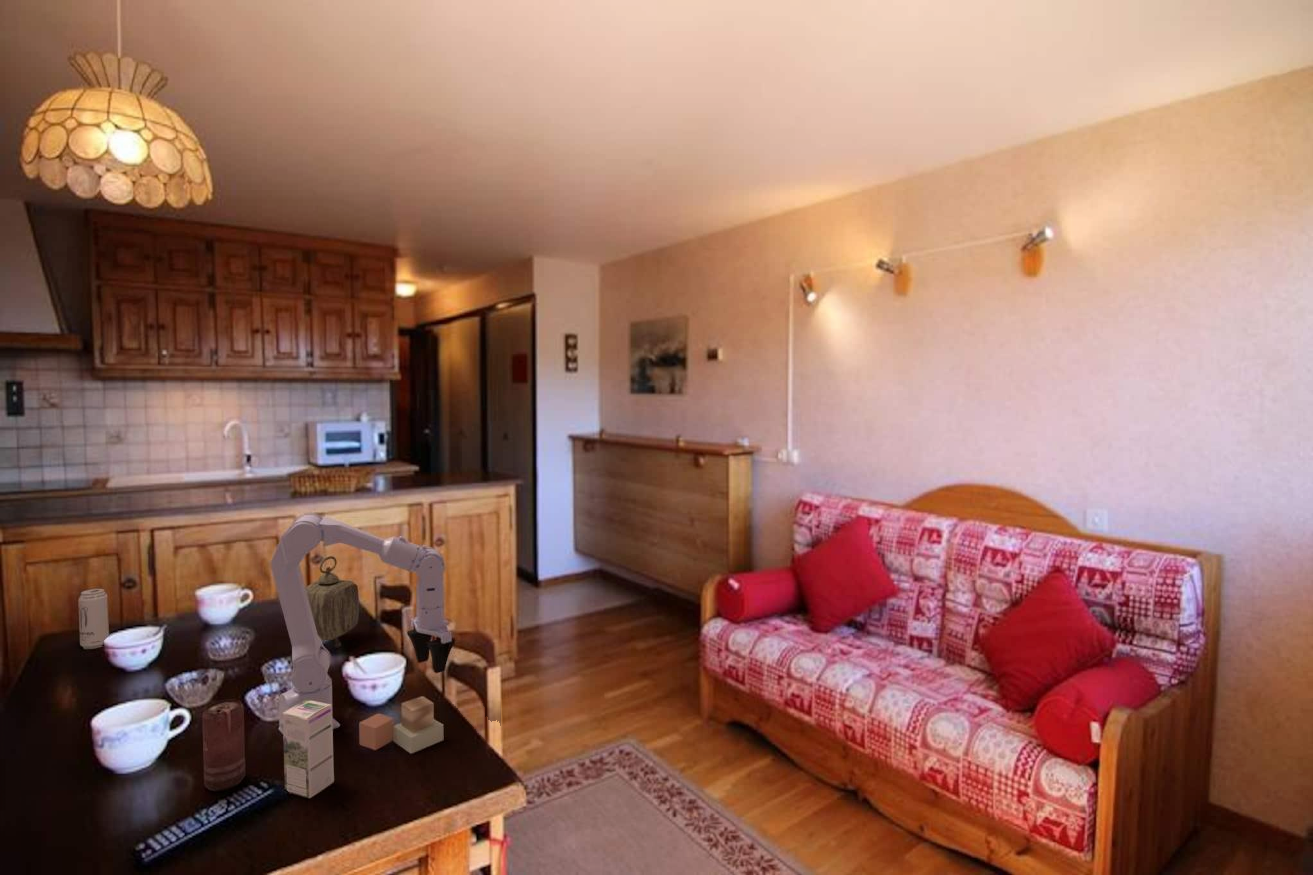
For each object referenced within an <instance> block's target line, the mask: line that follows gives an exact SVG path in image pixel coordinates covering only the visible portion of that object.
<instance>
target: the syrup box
mask: <svg viewBox="0 0 1313 875" xmlns="http://www.w3.org/2000/svg"><path fill="white" fill-rule="evenodd" d="M332 718H333V704H332V705H330V704H326V703H321V702H316V701H311V700H306V701H304V702H301V703H299V704H297V705H295V706H294V707H292V708H290V709H289V710H287V711H285V712H284V713H283V734H282V735H283V736H282V738H283V764H284V765H283V766H284V769H283V770H284V790H285V789H286V790H287V791H288V792H289V793H288V794H292V795H295V796H299V797H303V798H306V799H307V798H308V799H311V798H313V797H314V796H316V795H317V794H319V793H320V792H322V791H323V790H325V789H326V788H327V787H329V786H331V785H332V784H333V783H335V782H334V781H335V772H334V770H335V769H334V766H335V765H334V736H333V733H334V729H333V725H332Z"/></svg>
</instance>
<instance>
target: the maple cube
mask: <svg viewBox="0 0 1313 875" xmlns="http://www.w3.org/2000/svg"><path fill="white" fill-rule="evenodd" d="M434 703H435V702H432V701H431V700H429V699H428V698H426V697H425V696H423V695H422V696H418V697H416V698H412V699H410V700H407V701H404V702H401V704H400V705H401V723H402V726H404V727H405V728H406V729H408V730H409V731H410V732H412V733H414V732H416V731H419V730H422V729H424V728H427V727H430V726H433V725H434V719H435V718H434V716H435V714H434V710H435V709H434Z"/></svg>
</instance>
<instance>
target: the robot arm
mask: <svg viewBox="0 0 1313 875" xmlns="http://www.w3.org/2000/svg"><path fill="white" fill-rule="evenodd" d="M406 538H407V537H406V536H402V535H400V536H399V537H396V536H391V537H389V538H386V539H385V538H382V537H379V536H376V535H374V534H373V533H369V532H366V531H365V530H362V529H360V528H357V527H354V526H352V525H349V524H347V523H344V522H343V521H339V520H337V519H334V518H332V517H329V516H321V515H319V514H317V513H313V512H312V513H304V514H302V515H300V516H298V517H297V518H296V520H294V522H292V523H291V525H290V526H289V527H288V528H287V529H286V531H284V532H283V533H282V535H281V536H280V538H279V542H278V543H277V546H276V548H275V550H274V554H273V555H272V558H271V560H270V568H271V569H270V570H271V572H272V576H273V581H274V583H275V587H276V591H277V596H278V600H279V602H280V606H281V610H282V614H283V616H284V617H283V619H284V621H285V626H286V629H287V632H288V637H289V639H290V645H291V651H292V652H291V658H292V659H291V662H292V665H293V669H292V670H293V671H292V675H291V683H292V688H290V689H289V690H288V691H286V692H283V693H280V695H279V699H278V719H279V720H278V721H279V725H278V726H279V727H278V730H279V732H280V733H281V734H282V735H283V713H284V712H285V711H287V710H289V709H290V708H292V707H294V706H295V705H297V704H299V703H301V702H304V701H306V700H311V701H316V702H321V703H326V704H330V705H332V706H333V684H332V683H333V680H332V678H331V677H330V675H329V674H328V671H329V668H330V666H331V663H332V656H331V653H330V651H329V650H328V649H327V648H326V647H325V646H324V644H323V640H321V638H320V637H319V636H318V634H317V630H316V627H315V623H314V619H313V615H312V611H311V607H310V604H309V600H308V596H307V592H306V588H305V587H306V586H305V582H304V578H303V573H302V569H301V566H300V564H301V562H302V561H303V559H304V558H305V556H306V555H307V554H309V553H310V552H312V551H313V550H315V549H317V547H318V546H319V545H320V543H321V542H323V543H322V546H323V547H329V546H331V545H335V544H344V545H347V546H350V547H354V548H357V549H360V550H364V551H368V552H371V553H373V554H376V555H378V556H379V558H380V561H381V562H382V563H384V564H386V565H390V566H392V567H393V566H394V567H396V568H399V569H402V570H405V571H407V572H411V573H412V572H413V573H414V572H415V573H416V575H417V584H416V616H415V617H411V618H410V621H411V622H410V624H411V625H410V626H411V628H413V629H410V630H408V631H406V634H407V636H408V637H409V639H410V641H411V644H412V646H413V647H412V648H413V649H414V653H415V657H416V660H417V663H418V664H419V663H420V664H421V663H424V662H427V661H429V657H430V655H431V661H432V668H433V672H434V673H435V674H439V673H442V672H444V671H445V670H446V667H447V664H448V663H447V662H448V660H449V656H450V652H451V651H452V648H453V647H454V645H455V643H456V638H454V637H453V636H452V632H451V631H450V630H449V629H448V626H450V621H448V620H447V619H445V583H444V578H445V577H444V573H445V571H446V564H445V560H444V556H443V554H442V553H441V551H439V550H438V549H436V548H435V547H434V546H433V547H432V546H427V545H425V544H422V545H418V544H415V543H414V542H411V541H407V539H406ZM432 637H434V638H435V639H434V640H432ZM332 725H333V730H334V729H335V730H336V729H338V728H339V727H340V726H341V724H340V723H339V722H338V721H337V720H336V719H335V718H333V717H332Z"/></svg>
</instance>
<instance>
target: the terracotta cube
mask: <svg viewBox="0 0 1313 875" xmlns="http://www.w3.org/2000/svg"><path fill="white" fill-rule="evenodd" d="M358 724H359V725H358V727H359V728H358V730H359V732H358V733H359V745H360V746H362V747H365V748H368V749H371V750H373V751H377V750H378V749H380V748H382V747H384V746H386V745H387V744H389V743H390V742H393V726H394V725H395V719H394V717H390V716H387V715H384V714H382V713H375V714H374V715H372V716H370V717H368V718H366V719H364V720H362V721H360V722H359V723H358Z"/></svg>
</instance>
